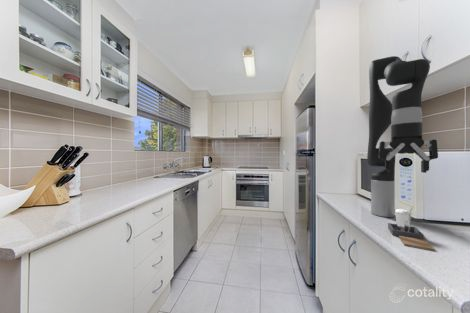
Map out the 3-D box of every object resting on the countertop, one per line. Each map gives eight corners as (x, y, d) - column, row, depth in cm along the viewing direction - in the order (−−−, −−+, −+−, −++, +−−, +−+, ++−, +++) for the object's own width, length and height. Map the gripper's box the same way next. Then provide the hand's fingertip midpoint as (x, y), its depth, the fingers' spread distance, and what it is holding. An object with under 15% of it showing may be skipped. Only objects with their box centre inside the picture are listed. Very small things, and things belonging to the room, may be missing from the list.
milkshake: (417, 237, 66) (417, 209, 66) (400, 235, 67) (400, 208, 67) (408, 231, 70) (408, 205, 70) (392, 230, 71) (392, 205, 71)
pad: (398, 237, 65) (398, 235, 65) (426, 241, 62) (426, 240, 62) (404, 245, 59) (404, 243, 59) (434, 251, 56) (434, 249, 56)
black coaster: (388, 227, 74) (388, 223, 74) (415, 232, 70) (415, 227, 70) (392, 235, 67) (392, 229, 67) (423, 240, 63) (423, 234, 63)
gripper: (431, 122, 60) (431, 171, 60) (377, 126, 67) (377, 170, 68) (442, 119, 54) (441, 174, 54) (380, 123, 61) (380, 172, 61)
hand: (405, 171), depth 61 cm, fingers open, 8 cm apart
